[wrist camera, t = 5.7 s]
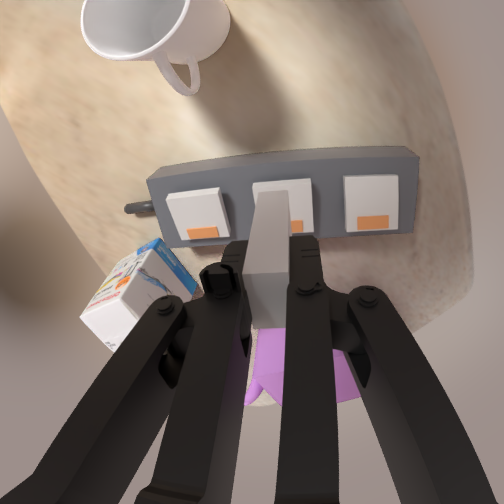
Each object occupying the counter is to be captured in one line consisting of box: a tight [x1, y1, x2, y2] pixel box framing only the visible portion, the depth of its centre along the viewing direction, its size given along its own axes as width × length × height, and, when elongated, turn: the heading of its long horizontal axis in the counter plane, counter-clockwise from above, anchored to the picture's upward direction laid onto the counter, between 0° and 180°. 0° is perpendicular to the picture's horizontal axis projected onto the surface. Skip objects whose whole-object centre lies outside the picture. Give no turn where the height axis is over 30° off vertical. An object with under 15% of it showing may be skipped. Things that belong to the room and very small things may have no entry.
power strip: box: [124, 146, 419, 249], centre depth 30 cm, size 8×32×4 cm, turn 98°
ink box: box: [80, 238, 197, 353], centre depth 35 cm, size 9×8×12 cm
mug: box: [81, 0, 230, 96], centre depth 18 cm, size 12×8×12 cm
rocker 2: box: [252, 178, 314, 233], centre depth 27 cm, size 5×5×1 cm
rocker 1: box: [166, 187, 231, 240], centre depth 28 cm, size 5×5×1 cm
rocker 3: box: [343, 174, 399, 232], centre depth 26 cm, size 5×5×1 cm
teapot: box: [244, 328, 361, 406], centre depth 37 cm, size 20×10×12 cm, turn 119°
